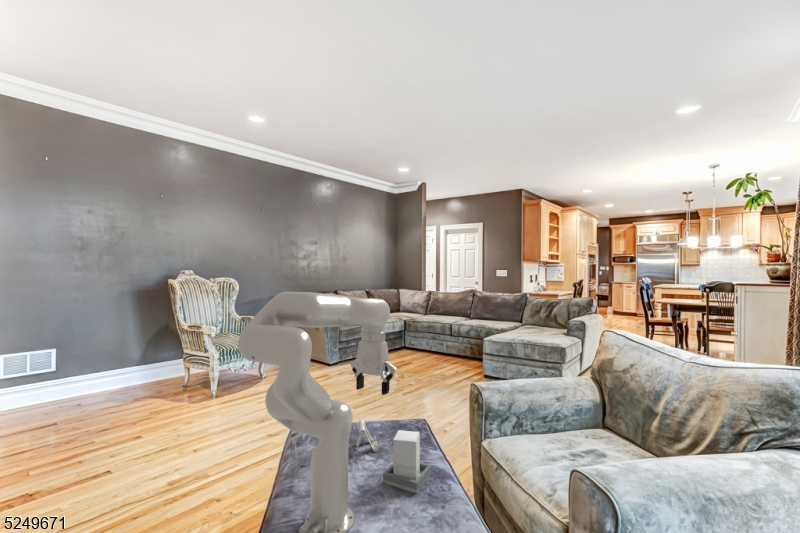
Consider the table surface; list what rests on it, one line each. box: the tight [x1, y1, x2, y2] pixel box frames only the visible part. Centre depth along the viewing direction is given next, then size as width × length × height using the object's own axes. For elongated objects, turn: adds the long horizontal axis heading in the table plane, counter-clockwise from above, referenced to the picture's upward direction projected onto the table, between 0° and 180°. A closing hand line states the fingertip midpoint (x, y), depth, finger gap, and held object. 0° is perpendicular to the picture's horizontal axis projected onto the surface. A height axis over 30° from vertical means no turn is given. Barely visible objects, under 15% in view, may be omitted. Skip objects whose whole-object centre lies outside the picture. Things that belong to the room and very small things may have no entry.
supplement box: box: [392, 429, 421, 480], centre depth 119 cm, size 7×7×13 cm
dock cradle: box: [382, 461, 433, 494], centre depth 119 cm, size 12×12×3 cm
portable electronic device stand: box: [355, 419, 379, 452], centre depth 140 cm, size 9×8×8 cm
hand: (372, 391), depth 120 cm, fingers open, 9 cm apart
